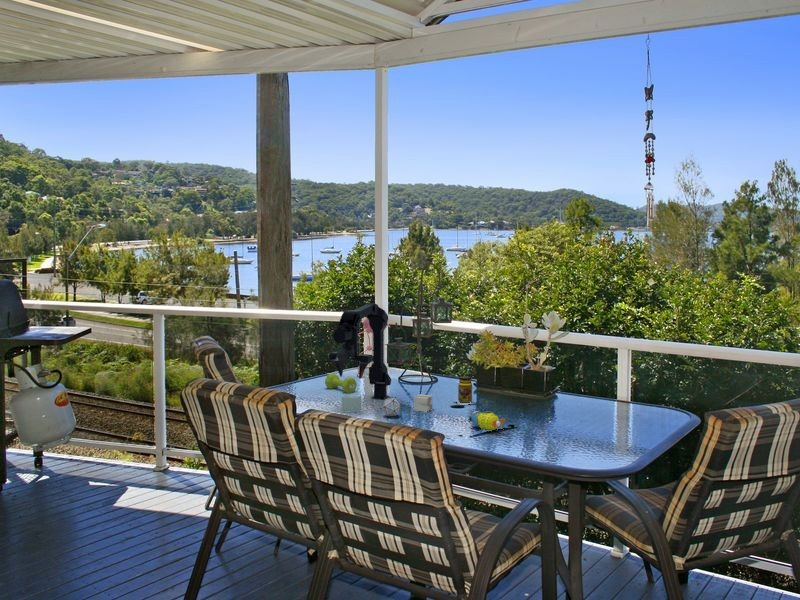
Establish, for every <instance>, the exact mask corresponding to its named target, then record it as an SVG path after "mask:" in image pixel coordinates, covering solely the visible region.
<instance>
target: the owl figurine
mask: <svg viewBox="0 0 800 600" xmlns="http://www.w3.org/2000/svg"><path fill="white" fill-rule="evenodd" d="M505 420H506V418H504V417H502V418H501V419H499V416H498V415H497V414H495V413H494V412H493V411H491V410H476V411H475V410H474V411H472V413H470V415H469V416H468V418H467V421H468V423H473V424H474V425H475V426H476V427H477V428H479V427H480V428H481V429H485V430H495V429H497V427H499V426H500V428H501V429H502V426H503V424H504V422H505ZM480 428H479V429H480ZM496 431H499V430H498V429H497V430H496Z"/></svg>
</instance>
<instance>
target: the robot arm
mask: <svg viewBox="0 0 800 600" xmlns="http://www.w3.org/2000/svg"><path fill="white" fill-rule="evenodd" d="M365 317H367V319H368V320H369V326H370V327H371V329H372V331H373V333H372V350H373V351H372V354H368V353H367V354H366V353H362V354H360V352H359V351H358V350H359V349H358V347H359V346H360V342H359V335H358V333H359V330H360V329H361V327H360V326H359V324H361V323H362V321H363V319H365ZM388 321H389V315H388V313H387V312H386V310H384V309H383V308H381V307H380V306H379V305H378V304H377V303H372V302H371V303H370V302H368V303H365V304H364V305H362V306H360V307H358V308H356V309H347V310H344V311H343V312H342V313H341V317H340V319H339V322H338V325H337V329H336V330H334V332H333V334H332V338H333V340H334V342H336V343H337V344H341V346H342V347H341V348H340V349H338V350H337V351H332V352H329V354H328V360H329V361H331V363H334V364H335V367H336V368H337V371H338V374H339V375H338V376H339V378H341V377H343V371H344V362H345V361H348V360H354V361H359V362H358V366H359V374H358V378H359V379H360V380H361V379H363V377H362V375H363V373H364V371H366V369H367V367H368V365H369V364H371V363H373V364H371V366H369V368H368V380H369V385H373V396H370V398H371V399H377V400H385V399H384V397H385V398H386V399H389V398H390V395H389V394H388V393H387V389H388V388H387V386H391V384H392V378H391V377H390V374H389V371H388V367H387V365H386V364H385V359H384V357H385V355H384V354H385V352H384V351H385V349H384V347H385V345H384V344H385V341H384V340H385V339H384V337H385V336H384V335H385V334H384V333H385V330H386V328H387V327H388V326H387V323H388ZM359 354H360V355H359ZM364 374H365V373H364ZM387 394H388V395H387Z"/></svg>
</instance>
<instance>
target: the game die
mask: <svg viewBox="0 0 800 600" xmlns="http://www.w3.org/2000/svg"><path fill="white" fill-rule="evenodd" d="M383 400H384V401H383V404H382V406H381V407H379V410H382V412H383V413H384V414H385V415H386V417H385V418H386V419H388V417H394V416H395V417H396V416H397V417H398V418H399V415H398V414H399V412H400V409H401V407H403V406H404V405H403V404H401V403H399V401H398V400H397V396H395V397H394V398H390V397H389V398H385V397H384V399H383Z"/></svg>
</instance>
